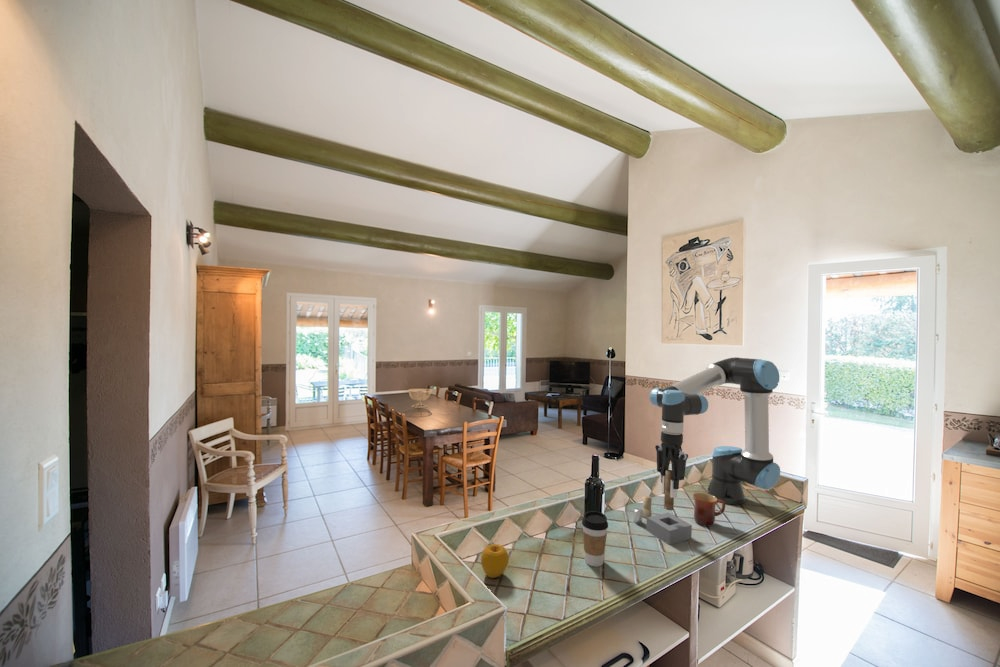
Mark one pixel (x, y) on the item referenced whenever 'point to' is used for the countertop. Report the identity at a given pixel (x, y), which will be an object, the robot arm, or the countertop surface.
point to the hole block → (669, 528)
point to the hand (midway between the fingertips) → (669, 494)
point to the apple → (494, 560)
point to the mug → (706, 508)
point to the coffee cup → (594, 537)
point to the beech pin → (647, 506)
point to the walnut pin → (668, 491)
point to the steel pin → (638, 516)
